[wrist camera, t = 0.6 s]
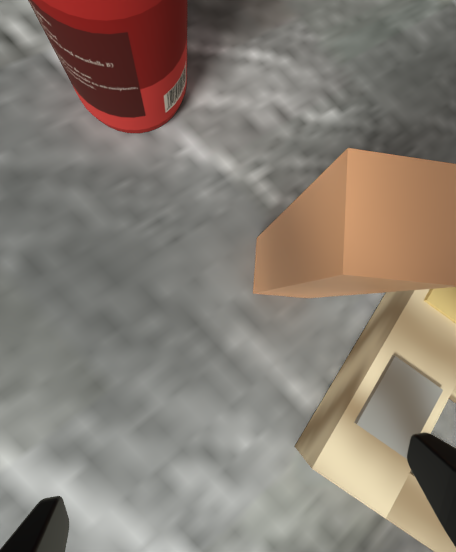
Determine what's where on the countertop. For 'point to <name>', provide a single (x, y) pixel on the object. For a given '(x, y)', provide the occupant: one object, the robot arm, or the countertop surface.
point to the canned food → (121, 56)
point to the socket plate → (389, 409)
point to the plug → (364, 230)
